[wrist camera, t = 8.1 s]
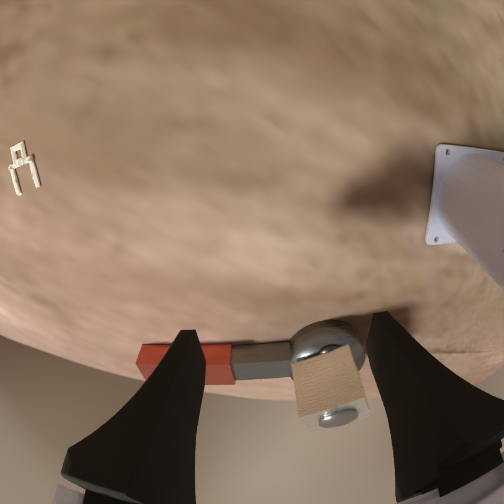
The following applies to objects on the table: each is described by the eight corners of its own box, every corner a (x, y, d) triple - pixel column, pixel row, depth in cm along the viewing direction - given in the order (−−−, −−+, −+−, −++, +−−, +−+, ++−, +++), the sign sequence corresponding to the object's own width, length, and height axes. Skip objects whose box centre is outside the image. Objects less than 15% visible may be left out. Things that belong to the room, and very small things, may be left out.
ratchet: (363, 315, 24) (379, 356, 20) (353, 363, 27) (363, 400, 23) (135, 331, 25) (120, 370, 21) (158, 374, 28) (149, 410, 24)
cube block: (348, 344, 21) (365, 400, 17) (358, 369, 24) (372, 418, 20) (291, 364, 22) (299, 421, 18) (308, 386, 25) (316, 435, 21)
